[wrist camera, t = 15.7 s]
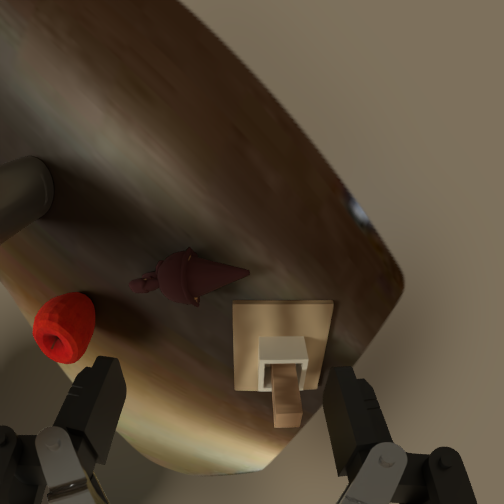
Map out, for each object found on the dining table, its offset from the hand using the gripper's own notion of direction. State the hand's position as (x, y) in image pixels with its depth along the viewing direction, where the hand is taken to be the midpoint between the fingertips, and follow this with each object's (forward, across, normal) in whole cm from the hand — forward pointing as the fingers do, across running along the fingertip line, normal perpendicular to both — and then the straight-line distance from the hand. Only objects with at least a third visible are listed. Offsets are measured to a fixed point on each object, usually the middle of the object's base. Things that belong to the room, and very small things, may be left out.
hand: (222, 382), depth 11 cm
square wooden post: (+28, -7, +24) cm, 37 cm away
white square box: (+28, -7, +24) cm, 38 cm away
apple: (+30, +24, +18) cm, 43 cm away
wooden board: (+29, -7, +24) cm, 39 cm away
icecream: (+30, +6, +10) cm, 32 cm away
